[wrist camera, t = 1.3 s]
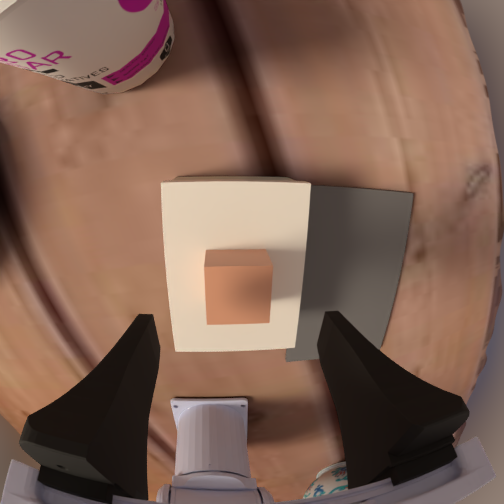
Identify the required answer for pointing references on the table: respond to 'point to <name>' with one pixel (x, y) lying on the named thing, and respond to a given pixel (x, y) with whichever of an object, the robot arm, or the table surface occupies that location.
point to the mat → (351, 261)
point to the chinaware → (329, 481)
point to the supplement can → (87, 40)
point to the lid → (234, 262)
